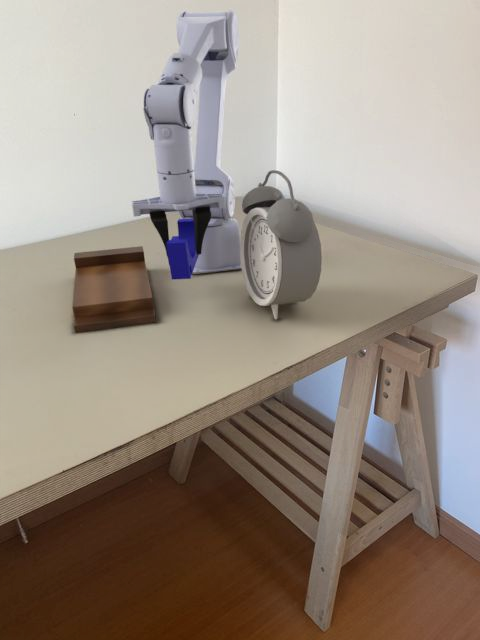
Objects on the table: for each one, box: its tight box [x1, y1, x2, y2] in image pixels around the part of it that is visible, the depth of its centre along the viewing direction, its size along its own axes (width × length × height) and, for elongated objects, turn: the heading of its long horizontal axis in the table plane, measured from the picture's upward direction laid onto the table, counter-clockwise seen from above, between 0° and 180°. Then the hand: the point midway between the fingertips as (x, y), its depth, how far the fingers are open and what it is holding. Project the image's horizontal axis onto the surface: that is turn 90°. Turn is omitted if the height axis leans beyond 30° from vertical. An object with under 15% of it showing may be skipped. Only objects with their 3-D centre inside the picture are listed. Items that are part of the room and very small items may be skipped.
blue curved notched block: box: [166, 218, 199, 281], centre depth 93 cm, size 12×4×6 cm, turn 178°
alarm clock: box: [240, 169, 323, 320], centre depth 89 cm, size 16×9×22 cm, turn 23°
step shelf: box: [72, 245, 157, 333], centre depth 97 cm, size 12×23×5 cm, turn 14°
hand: (183, 253), depth 93 cm, fingers closed on blue curved notched block, 4 cm apart
